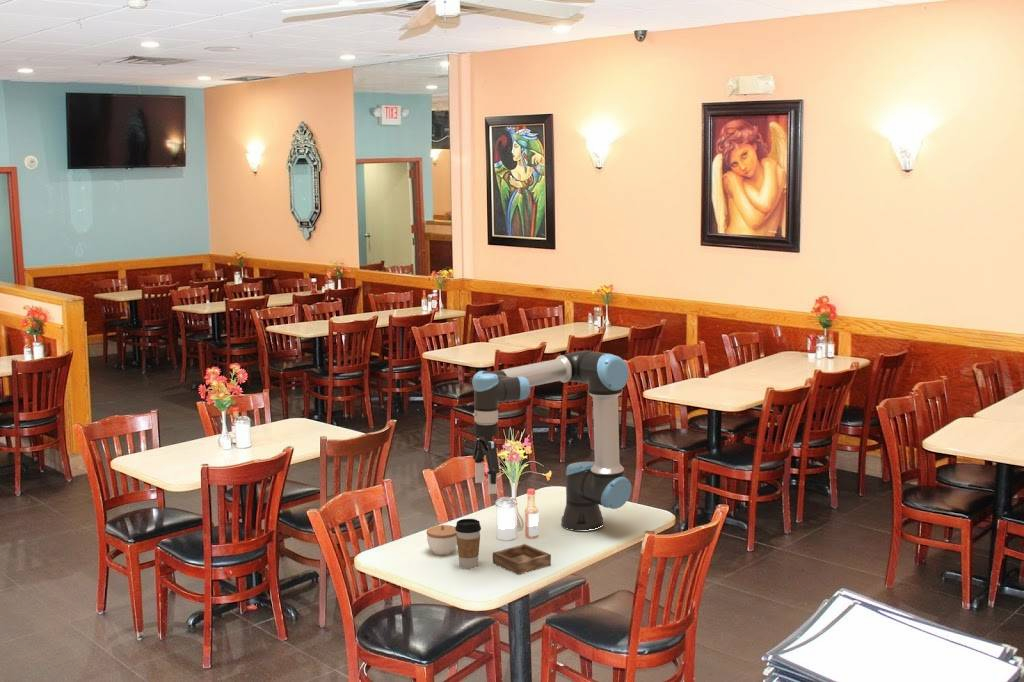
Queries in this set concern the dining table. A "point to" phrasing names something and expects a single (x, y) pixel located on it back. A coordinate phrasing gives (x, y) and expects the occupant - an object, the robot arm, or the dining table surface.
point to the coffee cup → (468, 542)
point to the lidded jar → (442, 539)
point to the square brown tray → (521, 559)
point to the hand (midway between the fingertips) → (485, 488)
